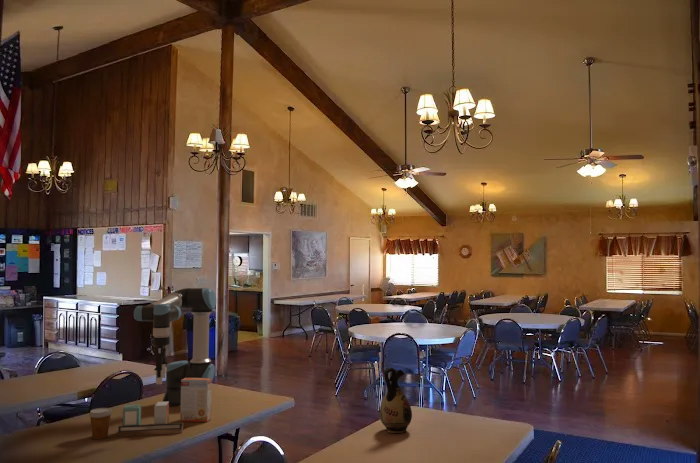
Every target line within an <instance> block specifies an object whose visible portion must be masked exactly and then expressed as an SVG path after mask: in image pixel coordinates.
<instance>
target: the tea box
mask: <svg viewBox="0 0 700 463" xmlns="http://www.w3.org/2000/svg"><path fill="white" fill-rule="evenodd" d="M132 425H142V404H129V405H128V404H125V405H124V406H123V409H122V426H132Z"/></svg>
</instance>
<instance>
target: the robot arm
mask: <svg viewBox="0 0 700 463" xmlns="http://www.w3.org/2000/svg"><path fill="white" fill-rule="evenodd" d="M216 305H217V296H216V293H215V291H214V289H211V288H206V287H205V288H203V287H197V288H196V287H194V288H193V287H191V288H190V287H186V288H181V289H177V290H175V291H173V292H170V293H168V294H167V296H165V297H163V298H161V299H159V300H156V301H154V302H152V303H149V304H147V305H137V306H136V307H134V310H133V318H134V320H135V321H137V322H152V323H153V326H152V327H153V328H152V337H153V338H152V345H153V346H157V348H156V350H155V351H156V352H155V353H156V355H155V356H156V360H155V367H154V368H153V369H154V372H155V385H162V384H163V379H165V392H164V395H163V398H162V401H161V402H167V401H169V407H181V380H182V379H184V378H211V383H212V382H213V380H214V378H215V373H216V367H215V365H214V364H213V363H212V360H211V358H209V356H210V355H209V352H210V351H209V350H210V348H209V347H210V346H209V344H210V315H211V314H212V313H213V310H214V309H216ZM182 309H187V310H190V313H191V314H192V315H193V327H192V328H193V329H192V331H193V333H192V338H193V340H192V359H190V361H188V360H178V361H173V362H170V363H168V361H167V356H166V354H167V347H166V346H168V345H170V332H171V331H172V330H171V328H170V327H171V326H170V325H171V322H175V321H178V320H179V319H180V318H181V317H182Z"/></svg>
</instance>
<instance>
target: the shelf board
mask: <svg viewBox="0 0 700 463" xmlns="http://www.w3.org/2000/svg"><path fill="white" fill-rule="evenodd" d="M184 426H185V423H184V422H169V423H168V424H154V423H150V424H149V423H148V424H141V425H132V426H123V425H119V426H118V432H117V436H118V437H132V436H133V435H136V436H149V435H153V436H154V435H167V434H182V433H183V430H184Z"/></svg>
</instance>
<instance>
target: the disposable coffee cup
mask: <svg viewBox="0 0 700 463" xmlns="http://www.w3.org/2000/svg"><path fill="white" fill-rule="evenodd" d="M89 411H90V412H89V414H88V415H89V417H90V427H91V435H92V437H91V438H92V439H94V440H101V439H106V438H107V437H108V435H109V428H110V422H111V417H112V416H111V415H112V414H113V411H112V409H111V408H109V407H99V408H93V409H91V410H89Z"/></svg>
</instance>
